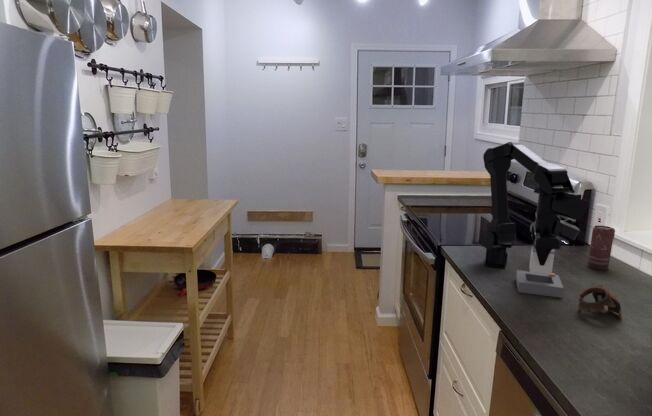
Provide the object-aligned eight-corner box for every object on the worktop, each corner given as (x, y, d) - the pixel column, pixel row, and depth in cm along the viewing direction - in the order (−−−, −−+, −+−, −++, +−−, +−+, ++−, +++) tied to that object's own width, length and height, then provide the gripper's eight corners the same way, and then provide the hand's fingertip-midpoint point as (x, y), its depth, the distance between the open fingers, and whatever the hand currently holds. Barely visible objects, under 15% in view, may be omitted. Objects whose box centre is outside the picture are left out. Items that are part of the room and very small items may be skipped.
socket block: (518, 291, 132) (519, 280, 131) (516, 279, 142) (517, 268, 141) (562, 297, 128) (563, 286, 128) (557, 284, 138) (558, 273, 137)
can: (612, 271, 150) (618, 230, 146) (590, 269, 151) (597, 229, 148) (604, 265, 155) (611, 225, 152) (584, 263, 157) (590, 224, 154)
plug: (530, 272, 133) (533, 249, 131) (529, 267, 137) (531, 244, 135) (551, 274, 131) (554, 251, 129) (549, 269, 135) (552, 247, 133)
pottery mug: (628, 327, 113) (616, 301, 111) (586, 334, 118) (574, 309, 116) (620, 298, 123) (609, 273, 121) (582, 305, 128) (571, 282, 126)
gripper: (585, 221, 119) (577, 277, 122) (573, 206, 136) (566, 256, 139) (539, 217, 122) (532, 272, 126) (533, 203, 139) (527, 251, 143)
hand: (541, 262), depth 133 cm, fingers closed on plug, 4 cm apart
